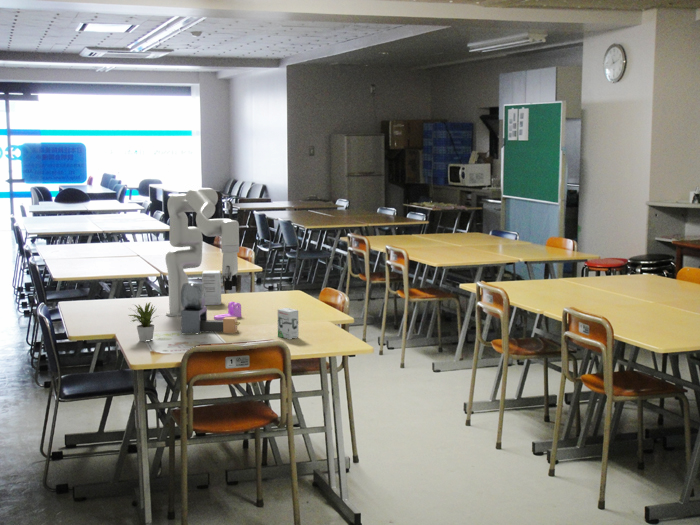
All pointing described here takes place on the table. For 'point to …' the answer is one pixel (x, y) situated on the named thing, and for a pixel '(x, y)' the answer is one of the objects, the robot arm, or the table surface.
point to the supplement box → (212, 287)
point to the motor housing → (193, 307)
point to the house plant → (144, 322)
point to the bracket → (230, 311)
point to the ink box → (288, 323)
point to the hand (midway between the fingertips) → (231, 288)
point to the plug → (220, 325)
